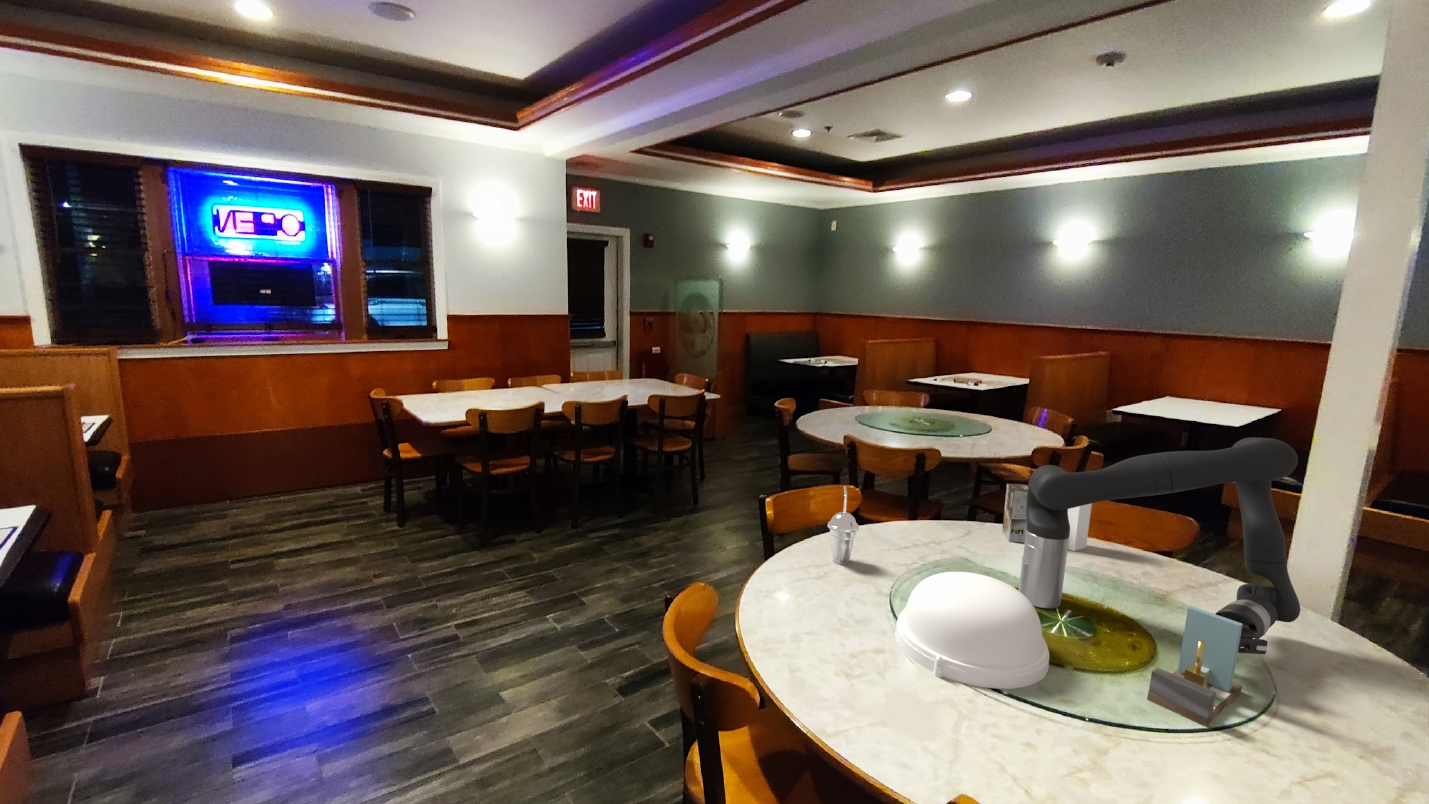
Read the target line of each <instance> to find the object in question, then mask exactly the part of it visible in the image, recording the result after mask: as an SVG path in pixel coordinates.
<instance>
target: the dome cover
mask: <svg viewBox="0 0 1429 804" xmlns="http://www.w3.org/2000/svg"><path fill="white" fill-rule="evenodd" d="M895 626H896V627H895V633H894V635H895V640H896V643H897V645H898V646H899V648H900V649H901V650H902V651H903V652H904V654H905V655H906V656H907V657H909V659H911V660H912V661H913V662H915V663H917V664H918V665H920V666H921V667H923V668H925V669H926V670H928V671H931V672H932V674H933V676H934V677H936V678H943V677H944V678H946V679H949V680H952V681H955V682H958V683H960V684H961V683H962V684H965V685H971V686H974V687H980V688H985V689H988V688H989V689H1002V690H1007V689H1010V690H1011V689H1018V688H1025V687H1028V686H1029V687H1030V686H1032V685H1034V684H1037V683H1038V682H1040V681H1042V680H1043V679H1044V678H1045V677H1046V676H1047V674H1048V672H1049V667H1050V651H1049V648H1048V644H1047V642H1046V640H1045V639H1044V637H1043V636H1044V635H1043V629H1042V624H1041V620H1040V617H1039V614H1038V612H1037V610H1036V608H1035V606H1033V605H1032V604H1031V602H1030V601H1029V600H1028V599H1027V598H1026V597H1025V596H1024V595H1023V594H1022V593H1021V592H1019V589H1016V588H1015V587H1014V586H1012V585H1010V584H1008V583H1006V582H1004V581H1002V580H999V579H997V578H995V577H992V576H989V575H988V576H987V575H984V574H979V573H975V572H967V571H946V572H944V571H943V572H940V573H936V574H933V575H930V576H928V577H926V578H924V579H922V580H921V581H920V582H919V583H918V584H917V585H916V586H915V587H914V588H913V590H912V592H911V593H910V596H909V597H908V599H907V603H906V606H905V607H904V609H903V610H902V611H900V614H899V615H898V618H897V619H896V625H895Z"/></svg>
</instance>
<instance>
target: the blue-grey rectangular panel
mask: <svg viewBox="0 0 1429 804" xmlns="http://www.w3.org/2000/svg"><path fill="white" fill-rule="evenodd" d="M1184 624H1185V625H1184V632H1183V638H1182V643H1181V650H1180V656H1179V663H1178V668H1177V670H1178V671H1180V672H1182V673H1185V669H1187V668H1188V667H1189V666H1190V667H1192V668H1194V665H1195V659H1196V653H1197V647H1198V641H1199V640H1201V641H1204V642H1205V648H1204V654H1203V660H1202V666H1201V671H1202V672H1205V673H1207V674H1209V675H1208V681H1207V683H1209V684H1211V685H1213V686H1216V687H1218V688H1220V689H1223V690H1225V691H1228V692H1229V691H1230V690H1231V687H1232V682H1234V680H1233V679H1234V674H1235V670H1236V664H1237V659H1238V655H1239V653H1238V648H1239V642H1240V637H1241V631H1242V625H1243V624H1242V623H1239V622H1236V621H1233V620H1230V619H1227V618H1225V617H1222V616H1219V615H1216V613H1213V612H1209V611H1207V610H1204V609H1201V608H1198V607H1195V606H1192V605H1190V606H1189V607H1188V608H1187V612H1186V619H1185V623H1184Z"/></svg>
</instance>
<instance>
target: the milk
mask: <svg viewBox="0 0 1429 804" xmlns="http://www.w3.org/2000/svg"><path fill="white" fill-rule="evenodd" d="M1092 505H1093V503H1091V504H1087V505H1083V506H1079V507H1074V508H1070V509H1068V519H1069V524H1070V535H1069V543H1068V550H1069V551H1072V552H1077V551H1082V550H1084V549H1086V548H1087V542H1088V534H1089V527H1090V520H1091V515H1092V514H1091V513H1092Z"/></svg>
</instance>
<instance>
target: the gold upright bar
mask: <svg viewBox="0 0 1429 804" xmlns="http://www.w3.org/2000/svg"><path fill="white" fill-rule="evenodd" d="M1204 648H1205V642H1204V641H1201V640H1199V641H1198V647H1197V653H1196V659H1195V665H1194V668H1192V667H1190V666H1189V667H1188V668H1187V669H1185V675H1184V679H1186V680H1189V681H1191V682H1193V683H1196V684H1198V685H1200V686H1203V687H1206V686H1207V681H1208V675H1209V674H1207V673H1205V672H1202V671H1201V666H1202V660H1203V654H1204Z"/></svg>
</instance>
